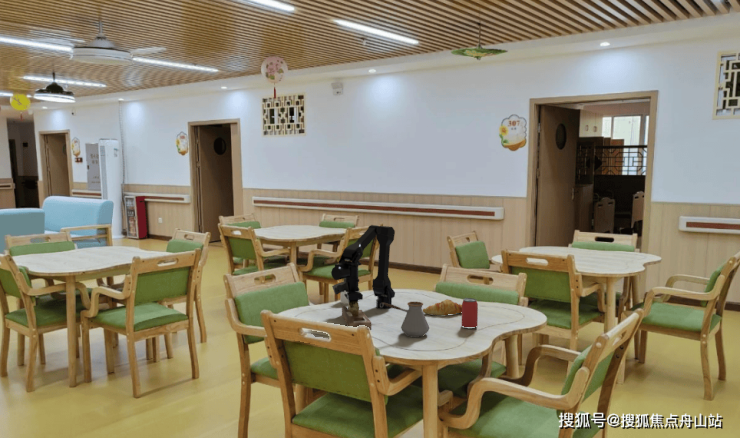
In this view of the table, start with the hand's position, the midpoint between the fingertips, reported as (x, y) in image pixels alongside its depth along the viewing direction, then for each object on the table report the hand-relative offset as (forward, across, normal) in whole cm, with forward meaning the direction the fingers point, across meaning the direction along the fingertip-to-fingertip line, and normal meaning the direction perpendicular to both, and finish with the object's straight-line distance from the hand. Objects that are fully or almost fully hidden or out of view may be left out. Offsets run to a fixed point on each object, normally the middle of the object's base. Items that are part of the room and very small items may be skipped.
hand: (351, 311), depth 247 cm
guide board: (+4, +5, +1) cm, 6 cm away
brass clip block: (0, +2, 0) cm, 3 cm away
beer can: (+4, +21, +47) cm, 51 cm away
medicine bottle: (+4, -28, +4) cm, 29 cm away
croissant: (+4, -2, +44) cm, 44 cm away
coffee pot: (+4, +26, +17) cm, 32 cm away
